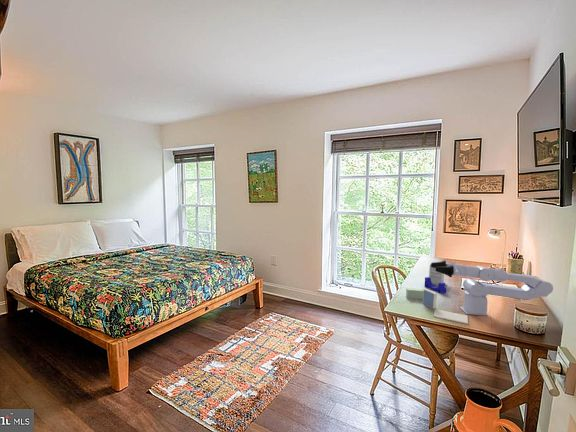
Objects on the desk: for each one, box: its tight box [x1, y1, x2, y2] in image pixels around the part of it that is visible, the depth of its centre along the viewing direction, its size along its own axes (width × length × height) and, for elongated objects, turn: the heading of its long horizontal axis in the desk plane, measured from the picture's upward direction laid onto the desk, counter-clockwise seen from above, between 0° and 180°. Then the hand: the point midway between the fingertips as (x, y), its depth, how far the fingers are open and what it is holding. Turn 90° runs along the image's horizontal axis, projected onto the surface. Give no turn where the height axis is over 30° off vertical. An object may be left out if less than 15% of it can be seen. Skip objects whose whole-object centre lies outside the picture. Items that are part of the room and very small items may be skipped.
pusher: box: [405, 287, 425, 300], centre depth 162 cm, size 10×3×5 cm, turn 80°
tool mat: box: [433, 308, 469, 325], centre depth 140 cm, size 14×9×1 cm, turn 60°
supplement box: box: [428, 261, 445, 286], centre depth 187 cm, size 7×7×13 cm
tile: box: [422, 288, 438, 310], centre depth 152 cm, size 2×7×8 cm, turn 20°
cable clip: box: [424, 276, 448, 294], centre depth 176 cm, size 12×4×6 cm, turn 21°
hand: (433, 266), depth 147 cm, fingers open, 7 cm apart
